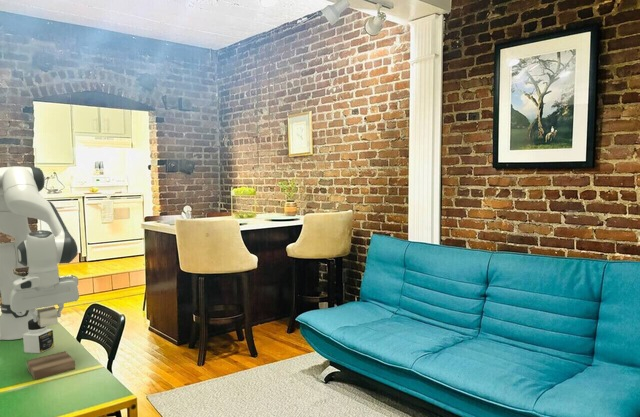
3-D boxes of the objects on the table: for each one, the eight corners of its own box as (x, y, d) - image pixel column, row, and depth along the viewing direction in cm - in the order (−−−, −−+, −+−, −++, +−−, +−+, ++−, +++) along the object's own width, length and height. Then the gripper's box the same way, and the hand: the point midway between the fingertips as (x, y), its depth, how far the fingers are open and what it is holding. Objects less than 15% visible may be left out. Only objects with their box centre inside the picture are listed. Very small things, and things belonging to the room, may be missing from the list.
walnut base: (27, 369, 164) (26, 360, 164) (66, 359, 172) (65, 351, 172) (34, 379, 155) (34, 371, 155) (75, 369, 163) (74, 360, 163)
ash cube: (37, 324, 163) (36, 309, 162) (54, 320, 166) (53, 306, 166) (41, 327, 159) (39, 312, 159) (57, 323, 162) (56, 309, 162)
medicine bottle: (40, 353, 178) (37, 322, 177) (23, 352, 180) (21, 321, 179) (54, 346, 185) (52, 316, 184) (38, 345, 187) (36, 315, 186)
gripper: (75, 272, 170) (78, 310, 172) (7, 282, 157) (11, 324, 158) (80, 275, 166) (83, 314, 167) (10, 286, 152) (14, 328, 153)
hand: (47, 319), depth 162 cm, fingers closed on ash cube, 5 cm apart
